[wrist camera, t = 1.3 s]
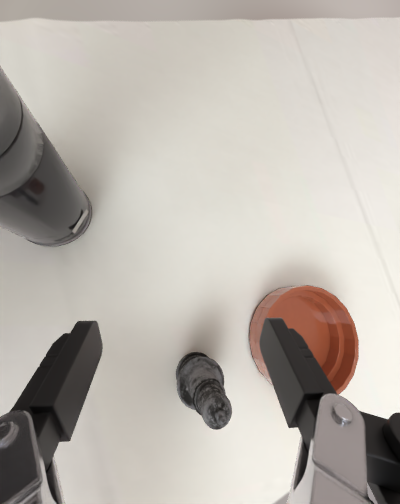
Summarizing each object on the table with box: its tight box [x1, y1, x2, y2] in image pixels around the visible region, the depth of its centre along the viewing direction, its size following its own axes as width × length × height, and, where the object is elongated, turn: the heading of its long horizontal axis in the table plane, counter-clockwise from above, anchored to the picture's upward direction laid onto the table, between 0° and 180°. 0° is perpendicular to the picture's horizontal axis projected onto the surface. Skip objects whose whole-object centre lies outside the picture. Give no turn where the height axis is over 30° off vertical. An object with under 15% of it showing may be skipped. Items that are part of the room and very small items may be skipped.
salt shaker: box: [176, 352, 232, 429], centre depth 24 cm, size 6×6×12 cm
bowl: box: [249, 285, 358, 395], centre depth 32 cm, size 15×15×4 cm
